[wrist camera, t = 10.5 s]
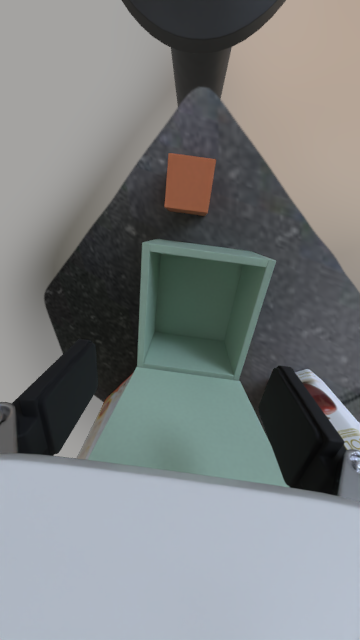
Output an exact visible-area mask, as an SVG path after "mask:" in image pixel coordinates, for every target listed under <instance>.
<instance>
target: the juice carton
mask: <svg viewBox="0 0 360 640" xmlns="http://www.w3.org/2000/svg"><path fill="white" fill-rule="evenodd" d="M295 373H296V375H297V376H298V377H299V379H300V380H301V382H302V383H303V384H304V386H305V387H306V389H307V390H308V391H309V393H310V394H311V396H312V397H313V398H314V400H315V401H316V403H317V404H318V405H319V407H320V408H321V409H322V411H323V412H324V414H325V415H326V416H327V418H328V419H329V421H330V422H331V423H332V425H333V426H334V428H335V429H336V430H337V432H338V433H339V435H340V436H341V437H342V439H343V440H344V441H345V443H344V446H345V448H346V449H347V450H349V449H356V450H359V451H360V423H359V422H358V421H357V420H356V419H355V418H354V416H353V415H352V414H351V413H350V412H349V411H348V410H347V408H346V407H345V406H344V405H343V404H342V403H341V401H340V400H339V399H338V398H337V397H336V396H335V394H334V393H333V392H332V391H331V390H330V389H329V388H328V386H327V385H326V384H325V383H324V382H323V381H322V380H321V379H320V378H319V377H318V376H316V375H315V374H314V373H313V372H312V371H311V370H309V369H305V370H301V371H297V372H295Z"/></svg>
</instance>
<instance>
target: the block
mask: <svg viewBox="0 0 360 640" xmlns="http://www.w3.org/2000/svg"><path fill="white" fill-rule="evenodd" d="M215 163H216V159H209V158H202V157H194V156H187V155H180V154H172V153H169V156H168V169H167V182H166V194H165V208H166V209H167V210H169V211H172V212H180V213H187V214H195V215H202V216H205V215H206V214H207V213H208V207H209V201H210V195H211V189H212V182H213V176H214V170H215Z"/></svg>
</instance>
